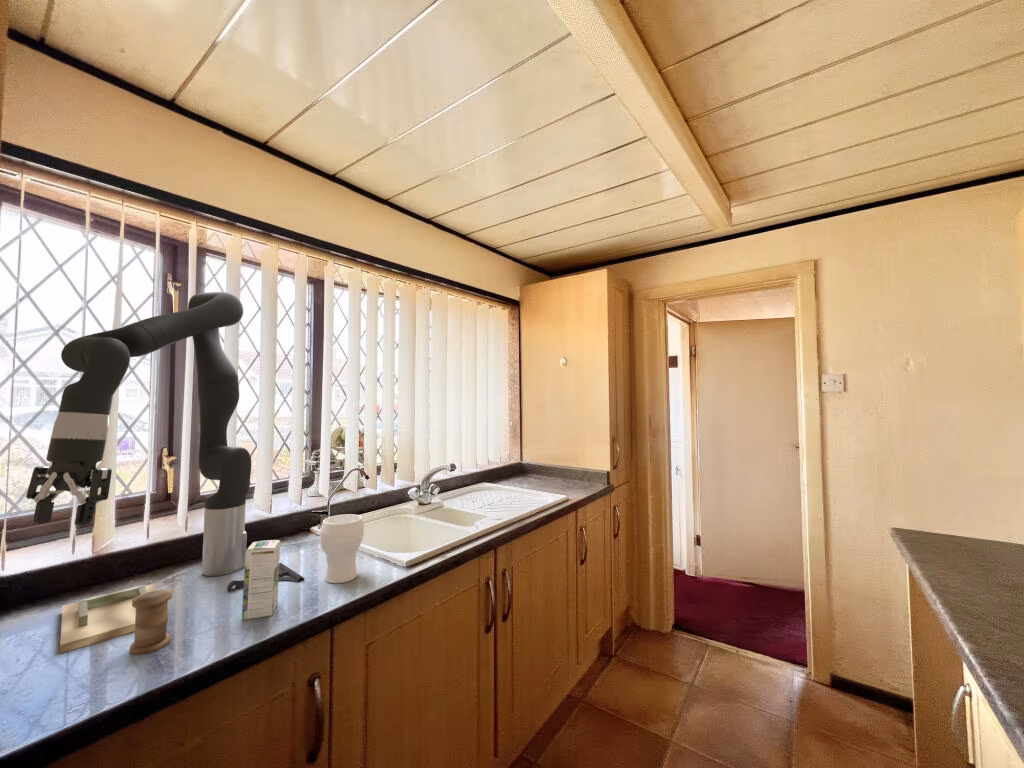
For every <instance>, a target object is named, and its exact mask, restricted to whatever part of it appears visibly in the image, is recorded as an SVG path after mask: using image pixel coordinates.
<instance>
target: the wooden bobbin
mask: <svg viewBox="0 0 1024 768" xmlns="http://www.w3.org/2000/svg"><path fill="white" fill-rule="evenodd" d="M172 591H173V590H171V589H157V590H156V591H151V592H147V593H144V594H141V595H139V596H137V597H135V598H134V599H133V600H132V607H134V608H136V617H135V631H134V639H133V642H132V643H131V644H130V645H129V653H130V654H131V655H137V656H139V655H146V654H149V653H153V652H155V651H158V650H160V649H161V648H164V647H165V646H167V645H168V644H170V641H171V635H170V633H168V632H167V627H168V626H167V625H168V620H167V613H168V608H169V607H168V604H169V602H168V601H169V600H170V599H172V597H173V596H172V594H173V592H172Z"/></svg>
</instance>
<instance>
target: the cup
mask: <svg viewBox="0 0 1024 768" xmlns="http://www.w3.org/2000/svg"><path fill="white" fill-rule="evenodd" d="M364 525H365V524H364V521H363V517H362V515H359V514H353V513H350V514H349V513H347V514H346V513H345V514H337V515H332V516H329V517H325V518H324V519H323V520H322V525H321V528H320V530H319V540H320V544H321V547H322V549H323V552H324V553H325V555H326V562H327V563H326V564H327V567H326V571H325V577H324V580H325V582H327V583H329V584H341V583H346V582H349V581H352V580H355V578H356V577H357V576H358V571H357V563H356V558H357V553H358V550H359V548H360V546H361V544H362V541H363V540H364V539H363V538H364V535H365V534H364V533H365V532H364V531H365V526H364Z"/></svg>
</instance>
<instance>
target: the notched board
mask: <svg viewBox="0 0 1024 768" xmlns="http://www.w3.org/2000/svg"><path fill="white" fill-rule="evenodd" d="M155 584H156V583H151V584H147V585H145V584H142V585H138V586H133V587H130V588H126V589H125V588H124V589H122V590H117V591H114V592H113V591H112V592H108V593H105V594H99V595H96V596H92V597H88V598H84V599H79V600H78V601H76V602H72V603H67V604H63V605H62V608H61V609H62V610H61V627H60V641H59V642H60V645H59V654H62V653H63V654H64V653H66V652H70V651H73V650H76V649H81V648H83V647H86V646H90V645H93V644H97V643H99V642H103V641H106V640H109V639H115V638H117V637H121V636H123V635H127V634H129V633H130V632H131V633H133V632H134V633H135V617H136V608H134V607H132V600H133V599H134V598H135V597H137V596H139V595H141V594H144V593H147V592H151V591H156V590H158V589H157V587H156V585H155ZM168 615H169V614H168V612H167V621H168V617H169V616H168Z"/></svg>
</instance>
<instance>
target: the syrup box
mask: <svg viewBox="0 0 1024 768" xmlns="http://www.w3.org/2000/svg"><path fill="white" fill-rule="evenodd" d="M280 549H281V540H279V539H267V540H265V539H264V540H259V541H253V542H251V544H250V545H249V546H248V548H246V554H245V567H244V575H243V580H244V588H242V589H243V591H242V610H241V620H242V621H245V620H252V619H253V620H254V619H258V618H264V617H270V616H271V617H272V616H273V614H274V612H275V610H276V608H277V607H276V606H277V605H278V596H279V581H278V579H279V563H280V555H281V550H280Z"/></svg>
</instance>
